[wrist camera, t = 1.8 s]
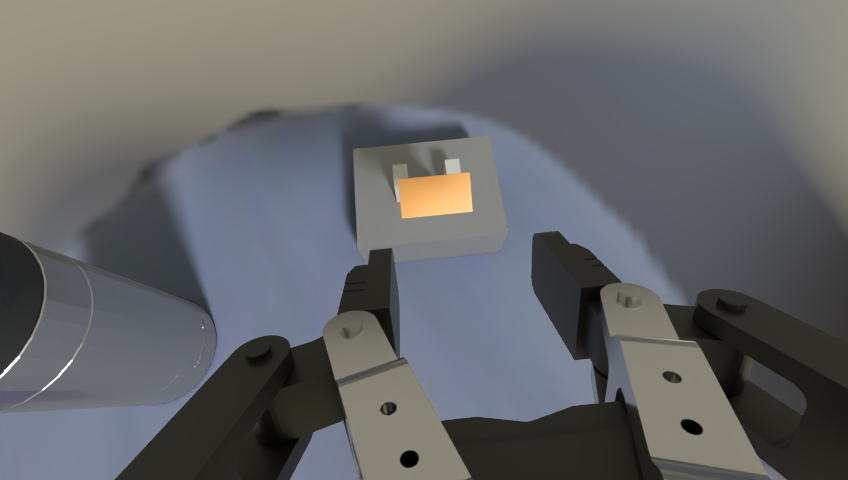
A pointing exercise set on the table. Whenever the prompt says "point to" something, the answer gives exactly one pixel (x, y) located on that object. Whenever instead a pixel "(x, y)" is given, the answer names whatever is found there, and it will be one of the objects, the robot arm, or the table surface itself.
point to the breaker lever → (435, 195)
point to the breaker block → (427, 233)
